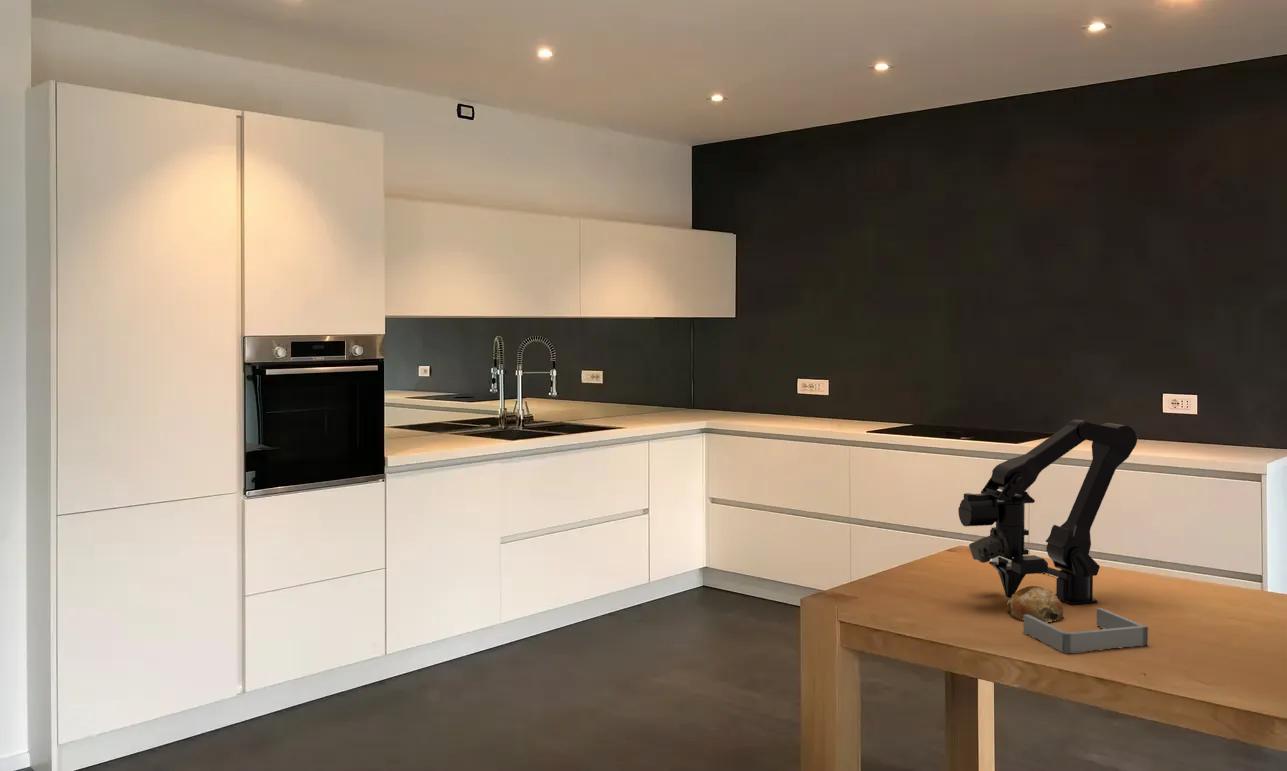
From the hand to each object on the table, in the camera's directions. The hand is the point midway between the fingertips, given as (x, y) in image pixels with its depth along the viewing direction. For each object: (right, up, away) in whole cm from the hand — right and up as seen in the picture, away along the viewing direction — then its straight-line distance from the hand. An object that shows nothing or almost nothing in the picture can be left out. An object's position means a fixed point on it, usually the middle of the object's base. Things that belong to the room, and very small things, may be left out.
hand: (1009, 597), depth 215 cm
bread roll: (+2, -2, -8) cm, 9 cm away
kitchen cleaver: (+15, 0, +29) cm, 33 cm away
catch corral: (+5, -3, -24) cm, 25 cm away
